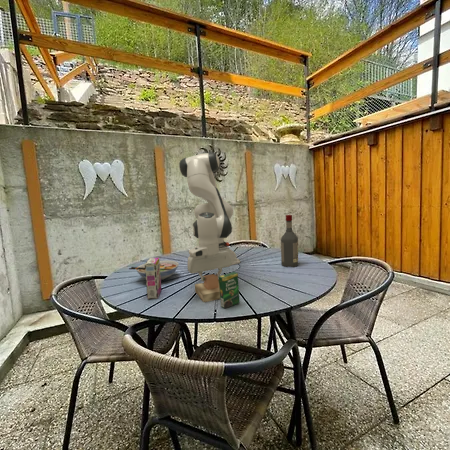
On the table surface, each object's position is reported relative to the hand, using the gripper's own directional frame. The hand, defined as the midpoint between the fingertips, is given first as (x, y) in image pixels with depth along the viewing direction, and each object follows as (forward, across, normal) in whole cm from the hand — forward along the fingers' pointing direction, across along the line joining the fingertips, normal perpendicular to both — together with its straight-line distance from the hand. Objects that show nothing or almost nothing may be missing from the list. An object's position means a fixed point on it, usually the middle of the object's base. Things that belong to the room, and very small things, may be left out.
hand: (210, 279), depth 120 cm
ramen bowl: (+7, +17, -36) cm, 40 cm away
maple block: (+8, 0, 0) cm, 8 cm away
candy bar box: (+7, +23, -14) cm, 28 cm away
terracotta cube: (+4, 0, 0) cm, 4 cm away
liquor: (+7, -57, -16) cm, 60 cm away
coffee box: (+7, -2, +15) cm, 17 cm away
